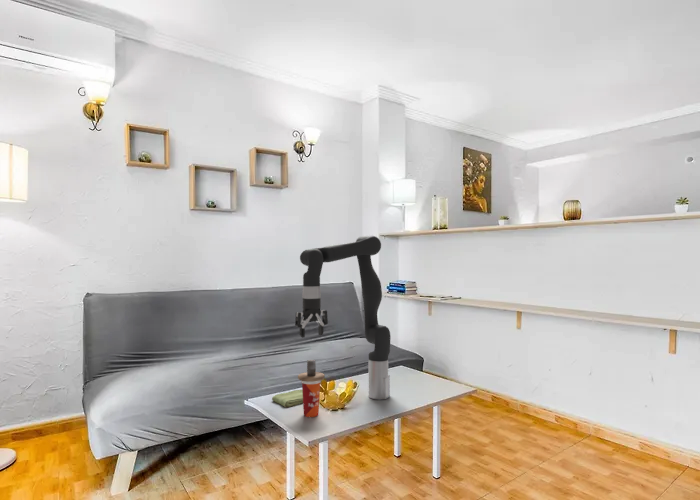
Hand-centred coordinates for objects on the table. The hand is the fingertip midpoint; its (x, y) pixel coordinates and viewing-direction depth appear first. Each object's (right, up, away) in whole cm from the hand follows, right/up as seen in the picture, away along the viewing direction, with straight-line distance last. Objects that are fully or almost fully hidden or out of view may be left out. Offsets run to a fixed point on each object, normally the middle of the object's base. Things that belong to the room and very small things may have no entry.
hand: (311, 336), depth 174 cm
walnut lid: (0, -17, -1) cm, 17 cm away
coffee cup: (0, -32, -2) cm, 32 cm away
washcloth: (-9, -33, +16) cm, 38 cm away
